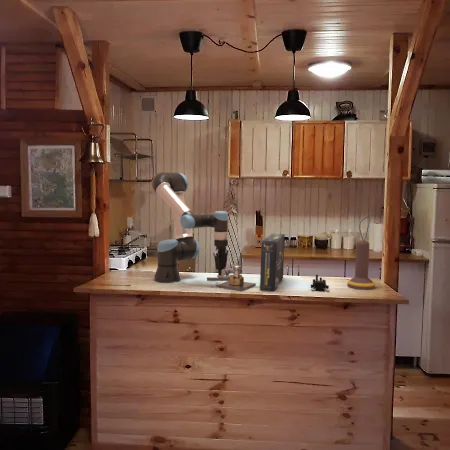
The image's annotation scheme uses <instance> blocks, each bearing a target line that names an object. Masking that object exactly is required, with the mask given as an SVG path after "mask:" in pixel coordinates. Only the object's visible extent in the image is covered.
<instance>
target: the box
mask: <svg viewBox="0 0 450 450" xmlns="http://www.w3.org/2000/svg"><path fill="white" fill-rule="evenodd" d="M285 235H286V234H285V233H284V234H283V233H271V234H269V235H267V237H266V238H264V239H262V240H261V244H260V245H261V248H260V250H261V251H260V273H259V275H260V277H259V291H262V292H263V291H264V292H275V291H276V290H277V288H278V287H279V285H280V284H281V282H282V281H283V279H284V264H285V263H284V260H285V237H286V236H285Z"/></svg>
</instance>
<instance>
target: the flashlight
mask: <svg viewBox="0 0 450 450" xmlns="http://www.w3.org/2000/svg"><path fill="white" fill-rule="evenodd" d="M368 218H369V220H368V224H367V228H366V233H365V237H364V238H363V235H362V231H361V223H362V222H363V221H364V220H365V219H368ZM370 222H371V217H370V216H366V217H364V218H363V219H361V221H360V222H359V227H358V228H359V232H360V236H361V239H362V240H361V239H360V240H358V241H356V244H355V246H356V247H355V269H354V270H355V271H354V277H352V278H350V279H348V281H347V288H349V289H354V290H358V291H359V290H361V291H371V290H375V288H376V283H375V282H374V281H373V280H372V279H370V277H369V264H370V261H369V260H370V243H369V242H370V241H367V240H366V239H367V236H368V231H369V227H370Z"/></svg>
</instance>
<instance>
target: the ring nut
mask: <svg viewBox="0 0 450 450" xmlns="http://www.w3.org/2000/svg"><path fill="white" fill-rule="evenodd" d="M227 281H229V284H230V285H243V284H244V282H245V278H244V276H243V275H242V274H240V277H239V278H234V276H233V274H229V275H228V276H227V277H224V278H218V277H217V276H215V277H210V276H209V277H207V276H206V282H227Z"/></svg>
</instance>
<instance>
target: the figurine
mask: <svg viewBox="0 0 450 450" xmlns="http://www.w3.org/2000/svg"><path fill="white" fill-rule="evenodd" d="M225 268H226V269H224V276H225V275H226V276H225V278H228V276H230V275H231V274H232V272H233V268H232V267H231V266H230V264H229V262H227V263H226V267H225ZM216 277H218V274H217V275H216Z"/></svg>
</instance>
